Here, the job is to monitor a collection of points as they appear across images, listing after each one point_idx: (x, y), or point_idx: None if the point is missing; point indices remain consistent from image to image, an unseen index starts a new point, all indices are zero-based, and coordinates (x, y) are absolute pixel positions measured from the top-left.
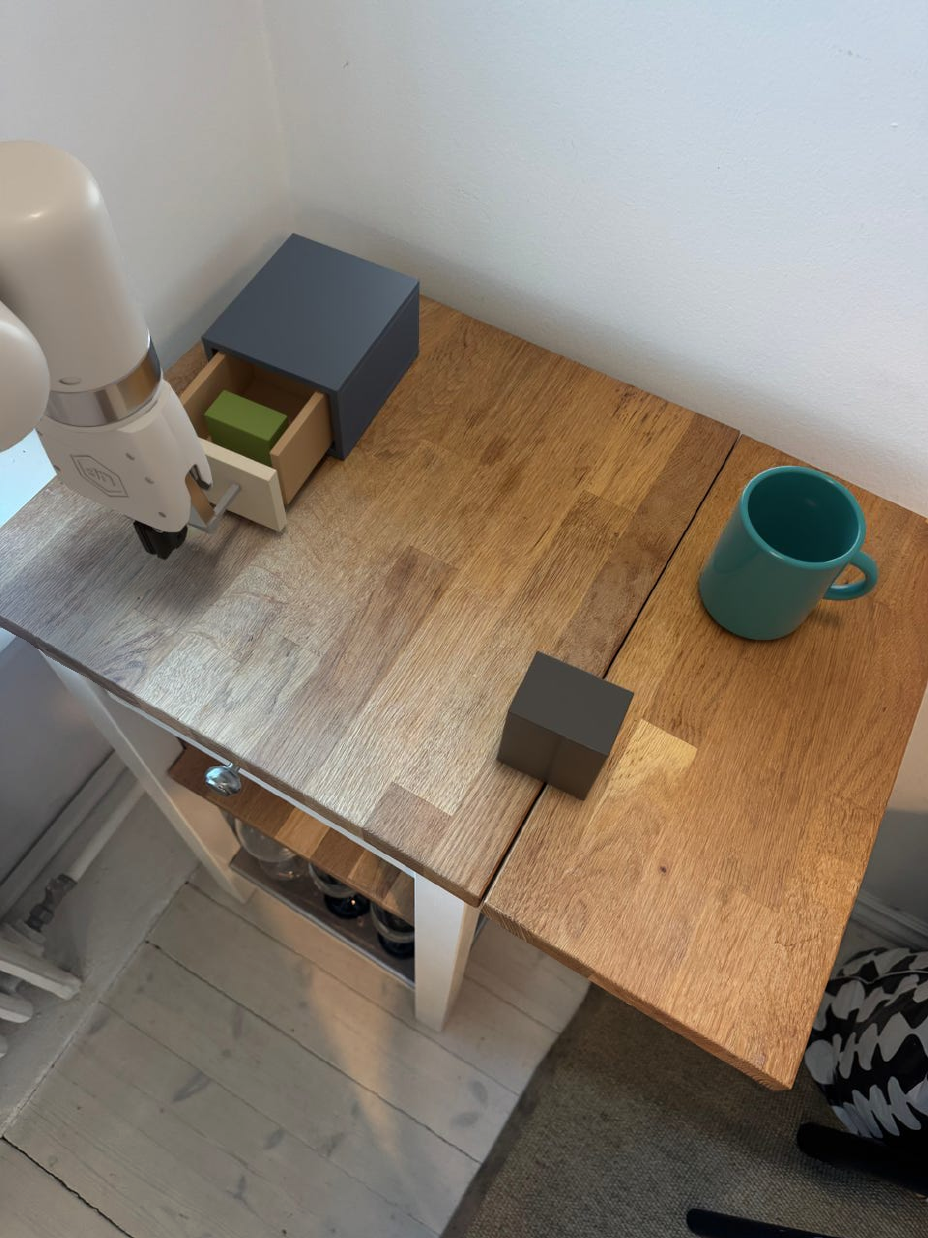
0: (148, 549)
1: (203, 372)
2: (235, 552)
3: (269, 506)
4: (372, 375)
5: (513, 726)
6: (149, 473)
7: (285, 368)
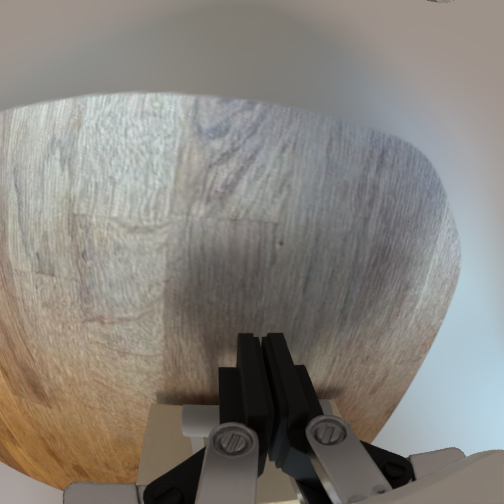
0: (274, 344)
1: None
2: (191, 362)
3: (150, 446)
4: None
5: None
6: None
7: None
